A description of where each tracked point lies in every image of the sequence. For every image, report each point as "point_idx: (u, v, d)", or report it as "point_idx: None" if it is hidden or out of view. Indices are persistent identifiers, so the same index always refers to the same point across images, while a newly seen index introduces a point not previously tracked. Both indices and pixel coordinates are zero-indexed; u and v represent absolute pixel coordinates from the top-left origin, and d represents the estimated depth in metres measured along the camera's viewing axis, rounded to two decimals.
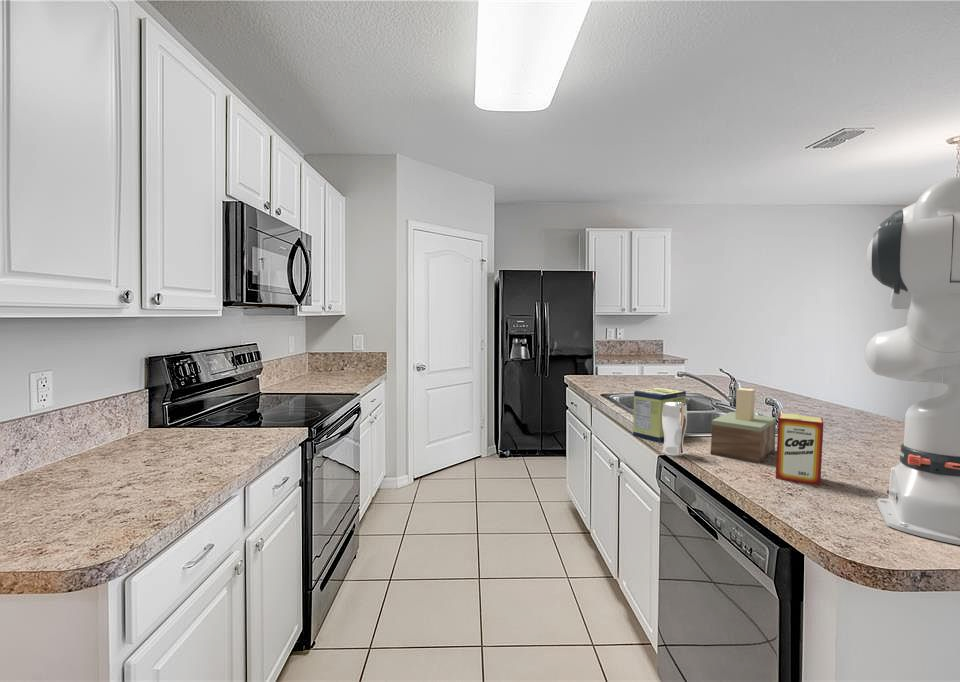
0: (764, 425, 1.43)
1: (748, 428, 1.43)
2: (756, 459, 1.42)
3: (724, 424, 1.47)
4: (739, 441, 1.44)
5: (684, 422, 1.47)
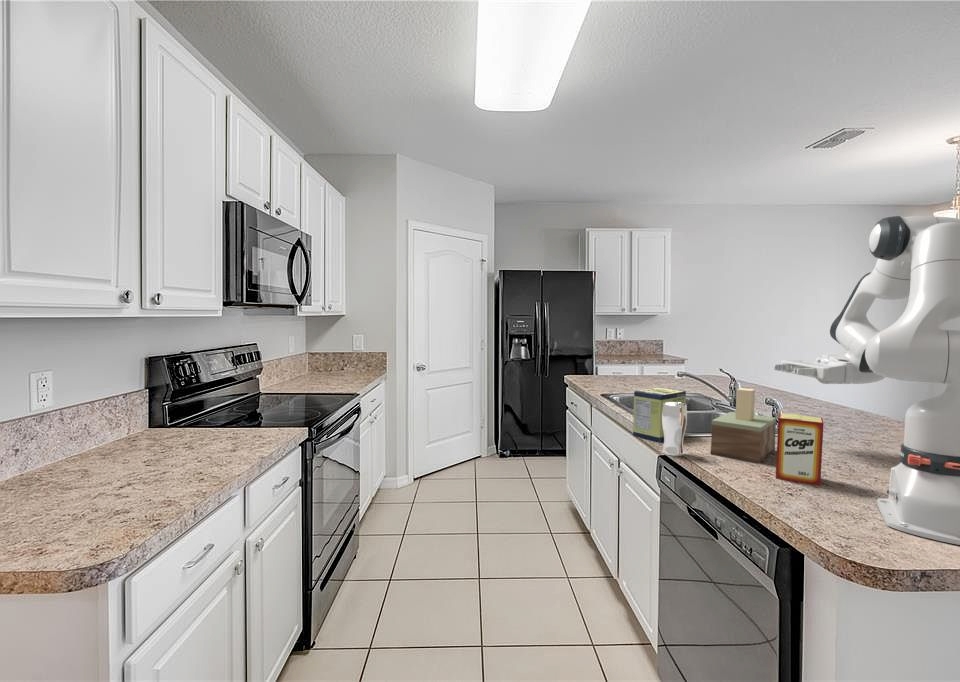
0: (764, 425, 1.43)
1: (748, 428, 1.43)
2: (756, 459, 1.42)
3: (724, 424, 1.47)
4: (739, 441, 1.44)
5: (684, 422, 1.47)
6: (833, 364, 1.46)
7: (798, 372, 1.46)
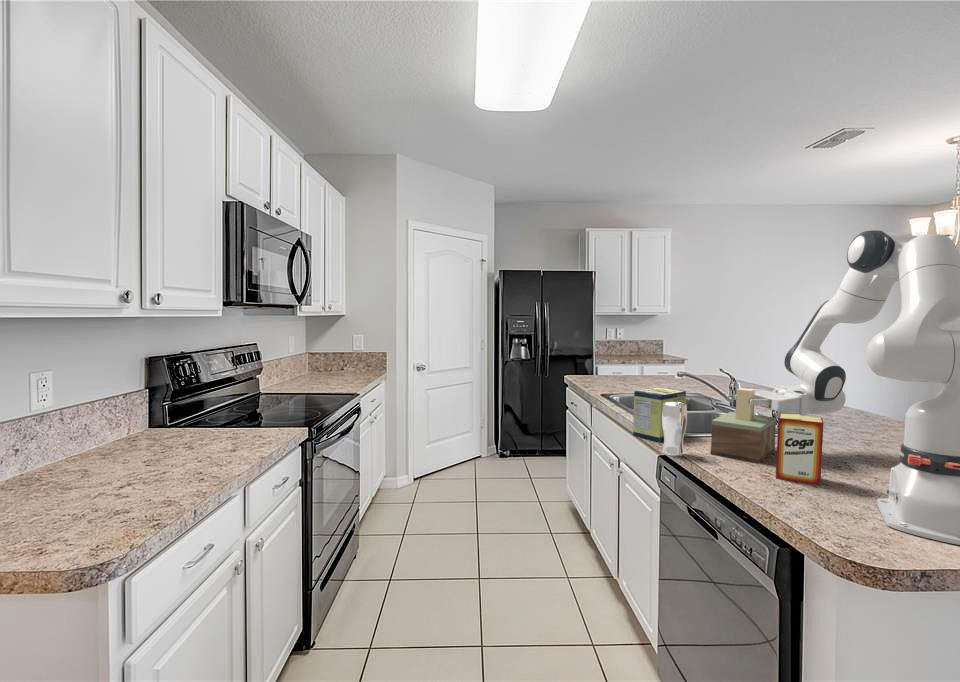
0: (764, 425, 1.43)
1: (748, 428, 1.43)
2: (756, 459, 1.42)
3: (724, 424, 1.47)
4: (739, 441, 1.44)
5: (684, 422, 1.47)
6: (789, 395, 1.46)
7: (751, 403, 1.47)
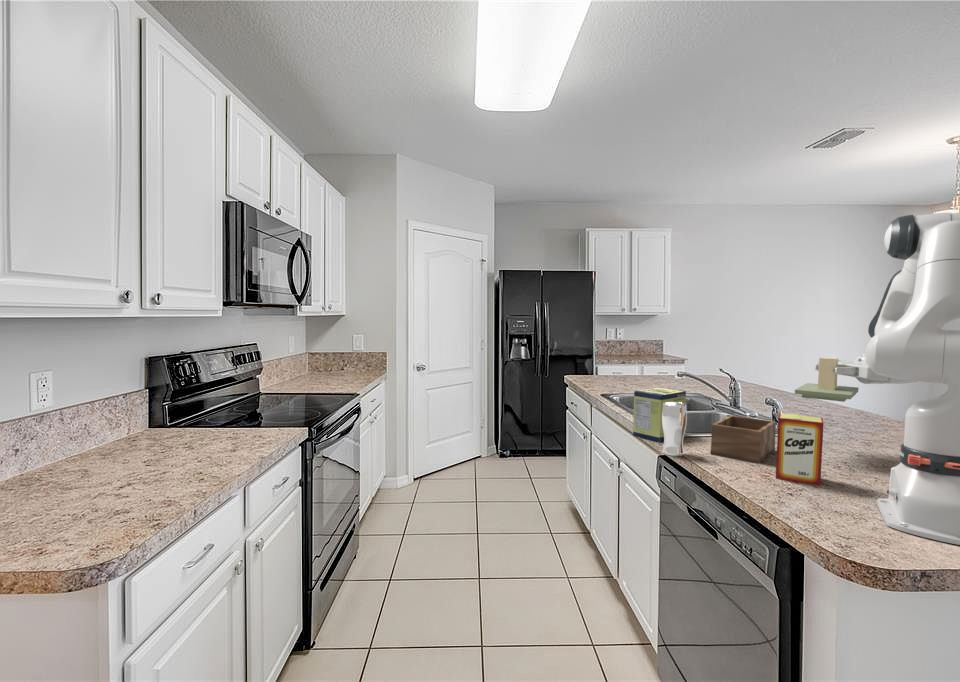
0: (852, 393, 1.39)
1: (836, 396, 1.38)
2: (756, 459, 1.42)
3: (809, 393, 1.42)
4: (739, 441, 1.44)
5: (684, 422, 1.47)
6: None
7: (837, 371, 1.42)
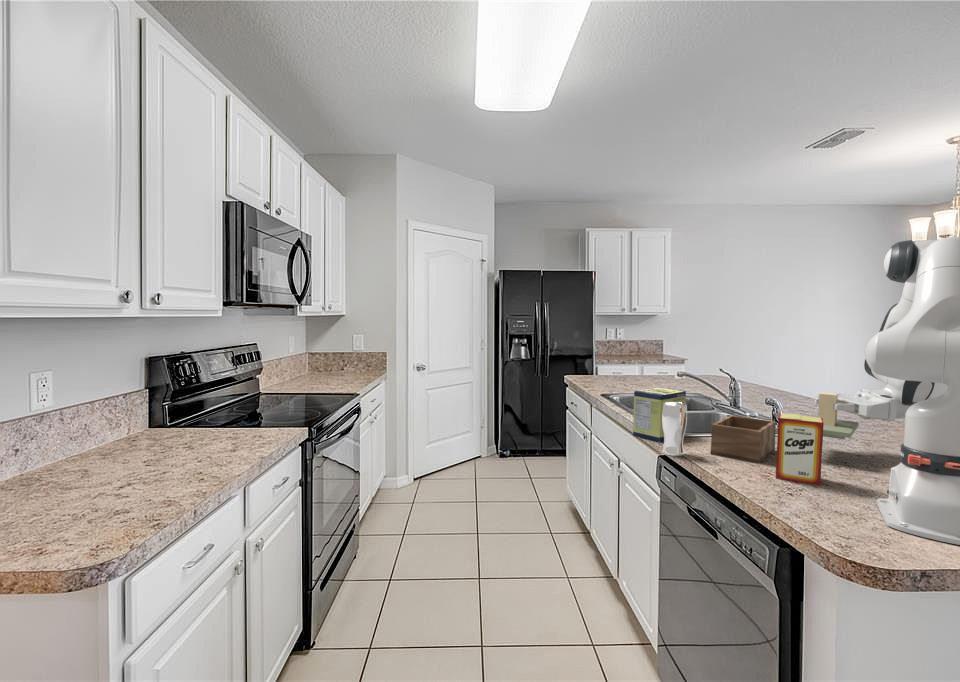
0: (852, 431, 1.40)
1: (836, 434, 1.39)
2: (756, 459, 1.42)
3: None
4: (739, 441, 1.44)
5: (684, 422, 1.47)
6: (876, 400, 1.42)
7: (836, 408, 1.43)
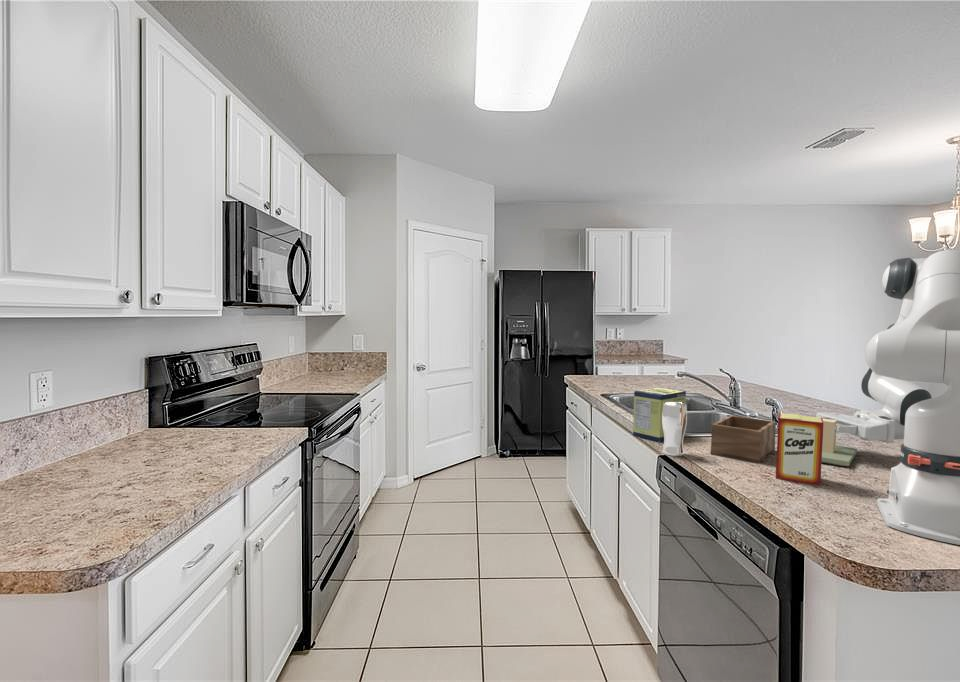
0: (850, 459, 1.40)
1: (834, 462, 1.39)
2: (756, 459, 1.42)
3: None
4: (739, 441, 1.44)
5: (684, 422, 1.47)
6: (874, 421, 1.42)
7: (838, 430, 1.42)
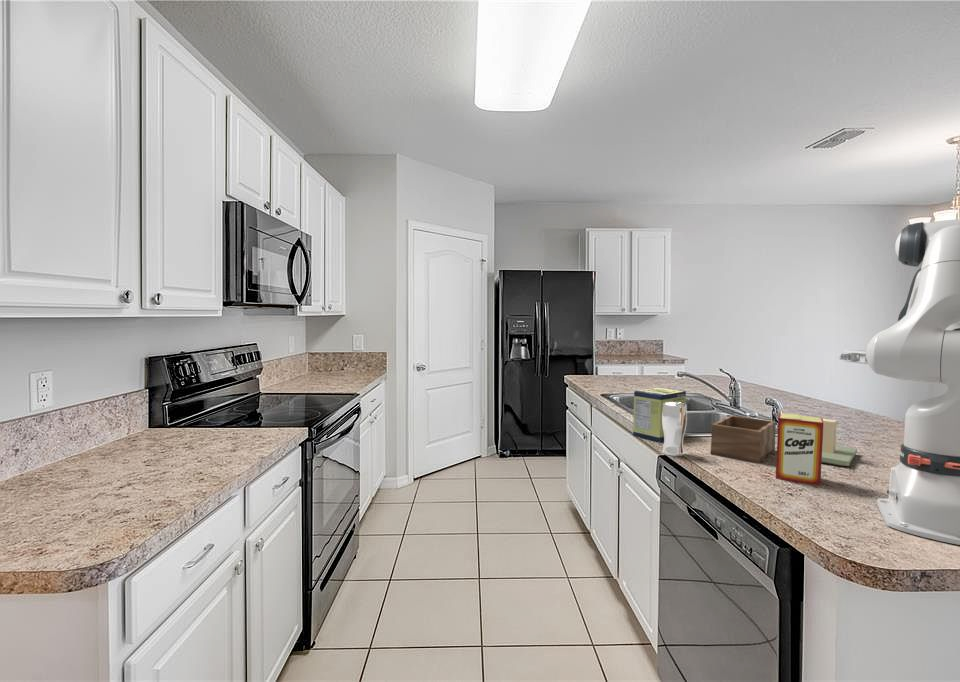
0: (850, 458, 1.40)
1: (834, 462, 1.39)
2: (756, 459, 1.42)
3: None
4: (739, 441, 1.44)
5: (684, 422, 1.47)
6: None
7: None
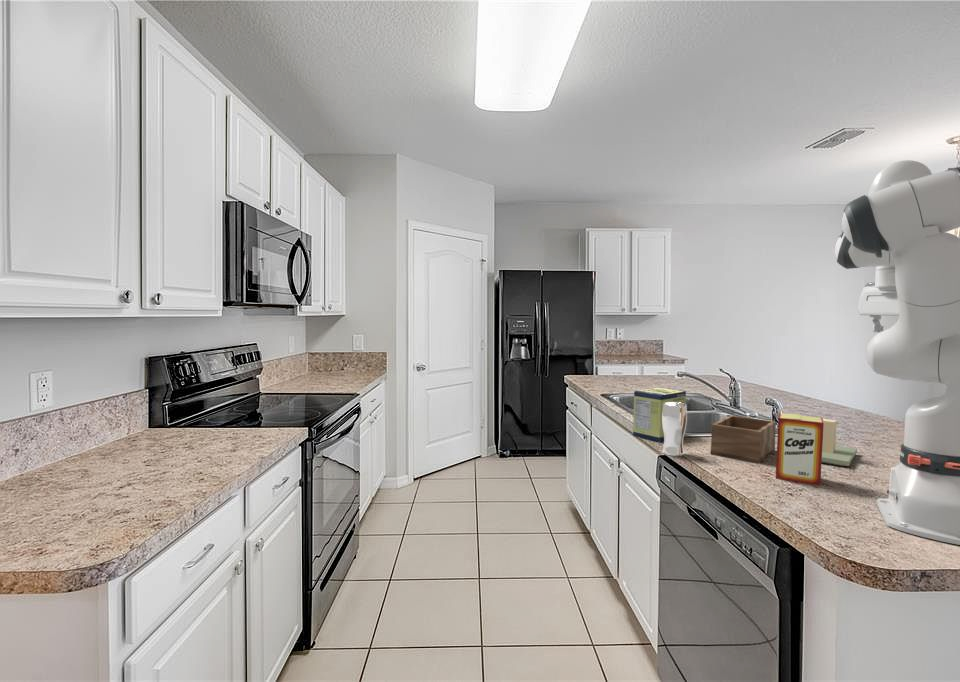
0: (850, 458, 1.40)
1: (834, 462, 1.39)
2: (756, 459, 1.42)
3: None
4: (739, 441, 1.44)
5: (684, 422, 1.47)
6: None
7: None
